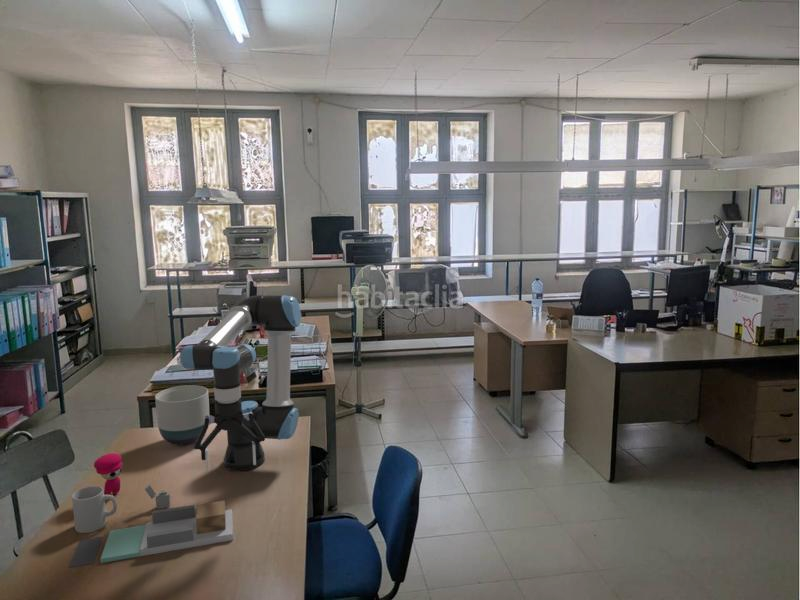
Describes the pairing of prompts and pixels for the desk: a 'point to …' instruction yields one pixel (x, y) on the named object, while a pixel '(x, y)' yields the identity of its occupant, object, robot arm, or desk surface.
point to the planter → (182, 413)
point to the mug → (91, 509)
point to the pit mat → (86, 552)
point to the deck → (180, 531)
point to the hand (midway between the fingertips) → (231, 466)
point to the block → (211, 517)
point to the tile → (123, 544)
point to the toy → (110, 472)
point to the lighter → (159, 497)
